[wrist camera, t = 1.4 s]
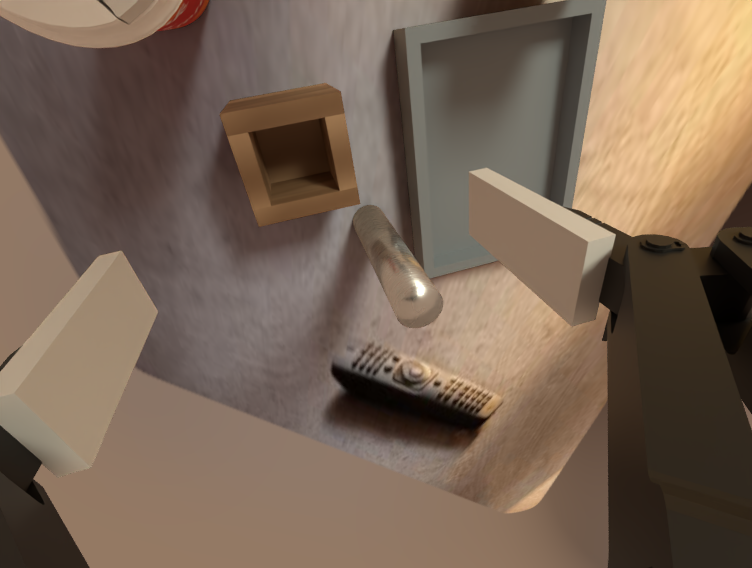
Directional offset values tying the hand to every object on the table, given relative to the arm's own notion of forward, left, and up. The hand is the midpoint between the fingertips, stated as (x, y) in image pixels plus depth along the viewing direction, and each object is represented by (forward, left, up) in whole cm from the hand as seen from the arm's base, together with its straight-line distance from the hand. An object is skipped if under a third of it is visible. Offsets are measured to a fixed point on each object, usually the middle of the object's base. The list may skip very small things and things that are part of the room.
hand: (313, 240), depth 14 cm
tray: (+4, +17, -18) cm, 25 cm away
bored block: (0, 0, -18) cm, 18 cm away
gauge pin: (+8, +5, -18) cm, 20 cm away
